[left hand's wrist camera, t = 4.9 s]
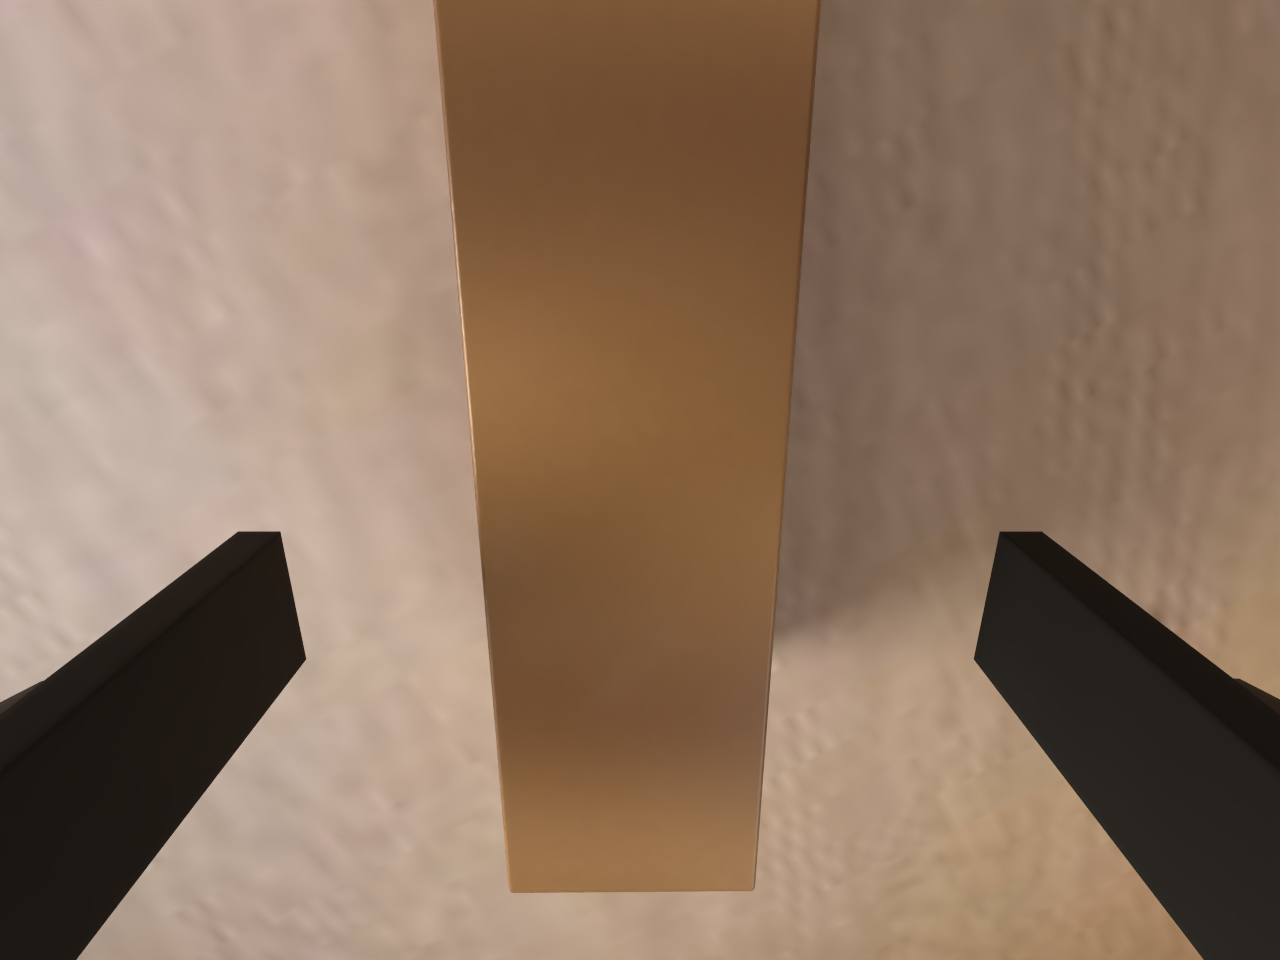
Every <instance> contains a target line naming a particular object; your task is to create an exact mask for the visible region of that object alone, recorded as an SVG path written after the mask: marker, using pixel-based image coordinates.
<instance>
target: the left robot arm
mask: <svg viewBox="0 0 1280 960" xmlns="http://www.w3.org/2000/svg"><path fill="white" fill-rule="evenodd" d="M305 660H306V656H305V651H304V646H303V641H302V636H301V631H300V627H299V622H298V617H297V612H296V607H295V602H294V597H293V592H292V587H291V582H290V577H289V572H288V567H287V562H286V558H285V553H284V548H283V543H282V538H281V533H280V532H237V533H236V534H235V535H233V536H232V537H231V538H229V539H228V540H227V541H225V542H224V543H223V544H222V545H220V546H219V547H218V548H216V549H215V550H214V551H212V552H211V553H210V554H208V555H207V556H206V557H205V558H203V559H202V560H201V561H199V562H198V563H197V564H195V565H194V566H193V567H192V568H190V569H189V570H188V571H186V572H185V573H184V574H182V575H181V576H180V577H179V578H177V579H176V580H175V581H173V582H172V583H171V584H169V585H168V586H167V587H166V588H164V589H163V590H162V591H160V592H159V593H158V594H156V595H155V596H154V597H152V598H151V599H150V600H149V601H147V602H146V603H145V604H143V605H142V606H141V607H139V608H138V609H137V610H136V611H134V612H133V613H132V614H130V615H129V616H128V617H126V618H125V619H124V620H123V621H121V622H120V623H119V624H117V625H116V626H115V627H113V628H112V629H111V630H110V631H108V632H107V633H106V634H104V635H103V636H102V637H100V638H99V639H98V640H96V641H95V642H94V643H93V644H91V645H90V646H89V647H87V648H86V649H85V650H83V651H82V652H81V653H80V654H78V655H77V656H76V657H74V658H73V659H72V660H70V661H69V662H68V663H67V664H65V665H64V666H63V667H61V668H60V669H59V670H57V671H56V672H55V673H54V674H52V675H51V676H50V677H48V678H47V679H46V680H44V681H41V682H39V683H37V684H35V685H33V686H31V687H29V688H27V689H26V690H24V691H22V692H20V693H18V694H16V695H14V696H12V697H10V698H8V699H6V700H4V701H2V702H0V960H76V959H77V958H78V957H79V955H80V954H81V953H82V951H83V950H84V949H85V947H86V946H87V945H88V944H89V942H90V941H91V940H92V938H93V937H94V936H95V934H96V933H97V932H98V930H99V929H100V928H101V927H102V925H103V924H104V923H105V921H106V920H107V919H108V917H109V916H110V915H111V913H112V912H113V911H114V910H115V908H116V907H117V906H118V904H119V903H120V902H121V900H122V899H123V898H124V897H125V895H126V894H127V893H128V891H129V890H130V889H131V887H132V886H133V885H134V883H135V882H136V881H137V880H138V878H139V877H140V876H141V874H142V873H143V872H144V870H145V869H146V868H147V866H148V865H149V864H150V863H151V861H152V860H153V859H154V857H155V856H156V855H157V853H158V852H159V851H160V849H161V848H162V847H163V846H164V844H165V843H166V842H167V840H168V839H169V838H170V836H171V835H172V834H173V833H174V831H175V830H176V829H177V827H178V826H179V825H180V823H181V822H182V821H183V819H184V818H185V817H186V816H187V814H188V813H189V812H190V810H191V809H192V808H193V806H194V805H195V804H196V802H197V801H198V800H199V799H200V797H201V796H202V795H203V793H204V792H205V791H206V789H207V788H208V787H209V785H210V784H211V783H212V782H213V780H214V779H215V778H216V776H217V775H218V774H219V772H220V771H221V770H222V768H223V767H224V766H225V765H226V763H227V762H228V761H229V759H230V758H231V757H232V755H233V754H234V753H235V752H236V750H237V749H238V748H239V746H240V745H241V744H242V742H243V741H244V740H245V738H246V737H247V736H248V735H249V733H250V732H251V731H252V729H253V728H254V727H255V725H256V724H257V723H258V721H259V720H260V719H261V718H262V716H263V715H264V714H265V712H266V711H267V710H268V708H269V707H270V706H271V704H272V703H273V702H274V701H275V699H276V698H277V697H278V695H279V694H280V693H281V691H282V690H283V689H284V688H285V686H286V685H287V684H288V682H289V681H290V680H291V678H292V677H293V676H294V674H295V673H296V672H297V671H298V669H299V668H300V667H301V665H302V664H303V663H304V661H305ZM974 660H975V661H976V663H977V664H978V665H979V667H980V668H981V669H982V671H983V672H984V673H985V674H986V676H987V677H988V678H989V680H990V681H991V682H992V684H993V685H994V686H995V688H996V689H997V690H998V691H999V693H1000V694H1001V695H1002V697H1003V698H1004V699H1005V701H1006V702H1007V703H1008V704H1009V706H1010V707H1011V708H1012V710H1013V711H1014V712H1015V714H1016V715H1017V716H1018V718H1019V719H1020V720H1021V721H1022V723H1023V724H1024V725H1025V727H1026V728H1027V729H1028V731H1029V732H1030V733H1031V735H1032V736H1033V737H1034V738H1035V740H1036V741H1037V742H1038V744H1039V745H1040V746H1041V748H1042V749H1043V750H1044V752H1045V753H1046V754H1047V755H1048V757H1049V758H1050V759H1051V761H1052V762H1053V763H1054V765H1055V766H1056V767H1057V768H1058V770H1059V771H1060V772H1061V774H1062V775H1063V776H1064V778H1065V779H1066V780H1067V782H1068V783H1069V784H1070V785H1071V787H1072V788H1073V789H1074V791H1075V792H1076V793H1077V795H1078V796H1079V797H1080V799H1081V800H1082V801H1083V802H1084V804H1085V805H1086V806H1087V808H1088V809H1089V810H1090V812H1091V813H1092V814H1093V816H1094V817H1095V818H1096V819H1097V821H1098V822H1099V823H1100V825H1101V826H1102V827H1103V829H1104V830H1105V831H1106V833H1107V834H1108V835H1109V836H1110V838H1111V839H1112V840H1113V842H1114V843H1115V844H1116V846H1117V847H1118V848H1119V849H1120V851H1121V852H1122V853H1123V855H1124V856H1125V857H1126V859H1127V860H1128V861H1129V863H1130V864H1131V865H1132V866H1133V868H1134V869H1135V870H1136V872H1137V873H1138V874H1139V876H1140V877H1141V878H1142V880H1143V881H1144V882H1145V883H1146V885H1147V886H1148V887H1149V889H1150V890H1151V891H1152V893H1153V894H1154V895H1155V897H1156V898H1157V899H1158V900H1159V902H1160V903H1161V904H1162V906H1163V907H1164V908H1165V910H1166V911H1167V912H1168V913H1169V915H1170V916H1171V917H1172V919H1173V920H1174V921H1175V923H1176V924H1177V925H1178V927H1179V928H1180V929H1181V930H1182V932H1183V933H1184V934H1185V936H1186V937H1187V938H1188V940H1189V941H1190V942H1191V944H1192V945H1193V946H1194V947H1195V949H1196V950H1197V951H1198V953H1199V954H1200V955H1201V957H1202V958H1203V959H1204V960H1280V699H1278V698H1276V697H1274V696H1272V695H1270V694H1268V693H1266V692H1264V691H1262V690H1260V689H1258V688H1256V687H1254V686H1252V685H1251V684H1249V683H1247V682H1245V681H1243V680H1241V679H1233V678H1232V677H1230V676H1229V675H1228V674H1226V673H1225V672H1224V671H1223V670H1221V669H1220V668H1219V667H1217V666H1216V665H1215V664H1213V663H1212V662H1211V661H1210V660H1208V659H1207V658H1206V657H1204V656H1203V655H1202V654H1200V653H1199V652H1198V651H1197V650H1195V649H1194V648H1193V647H1191V646H1190V645H1189V644H1187V643H1186V642H1185V641H1184V640H1182V639H1181V638H1180V637H1178V636H1177V635H1176V634H1174V633H1173V632H1172V631H1170V630H1169V629H1168V628H1167V627H1165V626H1164V625H1163V624H1161V623H1160V622H1159V621H1157V620H1156V619H1155V618H1154V617H1152V616H1151V615H1150V614H1148V613H1147V612H1146V611H1144V610H1143V609H1142V608H1141V607H1139V606H1138V605H1137V604H1135V603H1134V602H1133V601H1131V600H1130V599H1129V598H1128V597H1126V596H1125V595H1124V594H1122V593H1121V592H1120V591H1118V590H1117V589H1116V588H1114V587H1113V586H1112V585H1111V584H1109V583H1108V582H1107V581H1105V580H1104V579H1103V578H1101V577H1100V576H1099V575H1098V574H1096V573H1095V572H1094V571H1092V570H1091V569H1090V568H1088V567H1087V566H1086V565H1085V564H1083V563H1082V562H1081V561H1079V560H1078V559H1077V558H1075V557H1074V556H1073V555H1072V554H1070V553H1069V552H1068V551H1066V550H1065V549H1064V548H1062V547H1061V546H1060V545H1058V544H1057V543H1056V542H1055V541H1053V540H1052V539H1051V538H1049V537H1048V536H1047V535H1045V534H1044V533H1043V532H1000V533H999V538H998V543H997V548H996V553H995V558H994V562H993V567H992V572H991V577H990V582H989V587H988V592H987V597H986V602H985V607H984V612H983V617H982V622H981V627H980V631H979V636H978V641H977V646H976V651H975V656H974Z"/></svg>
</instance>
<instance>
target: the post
mask: <svg viewBox="0 0 1280 960" xmlns="http://www.w3.org/2000/svg"><path fill="white" fill-rule="evenodd" d="M433 2H434V14H435V26H436V38H437V49H438V61H439V73H440V85H441V96H442V108H443V120H444V132H445V143H446V155H447V167H448V179H449V190H450V202H451V214H452V226H453V237H454V249H455V261H456V272H457V284H458V296H459V308H460V319H461V331H462V343H463V355H464V366H465V378H466V390H467V402H468V413H469V425H470V437H471V449H472V460H473V472H474V484H475V496H476V507H477V519H478V531H479V543H480V554H481V566H482V578H483V590H484V601H485V613H486V625H487V637H488V648H489V660H490V672H491V684H492V695H493V707H494V719H495V731H496V742H497V754H498V766H499V777H500V789H501V801H502V813H503V824H504V836H505V848H506V860H507V871H508V883H509V890H510V892H512V893H544V892H671V891H752V890H754V888H755V878H756V865H757V851H758V838H759V825H760V811H761V798H762V784H763V771H764V757H765V744H766V731H767V717H768V704H769V690H770V677H771V663H772V650H773V637H774V623H775V610H776V596H777V583H778V569H779V556H780V543H781V529H782V516H783V502H784V489H785V476H786V462H787V449H788V435H789V422H790V408H791V395H792V382H793V368H794V355H795V341H796V328H797V314H798V301H799V288H800V274H801V261H802V247H803V234H804V220H805V207H806V194H807V180H808V167H809V153H810V140H811V126H812V113H813V100H814V86H815V73H816V59H817V46H818V33H819V19H820V6H821V0H433Z"/></svg>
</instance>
